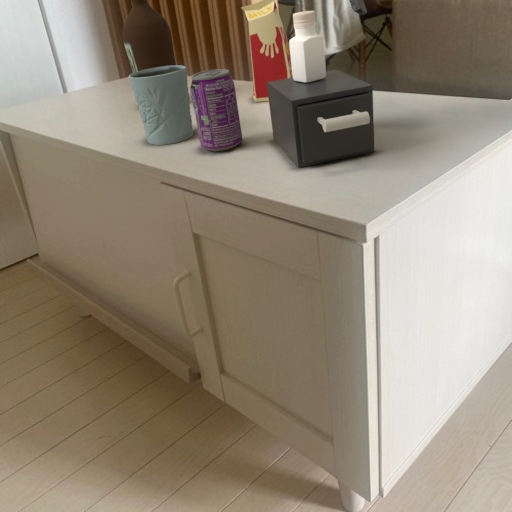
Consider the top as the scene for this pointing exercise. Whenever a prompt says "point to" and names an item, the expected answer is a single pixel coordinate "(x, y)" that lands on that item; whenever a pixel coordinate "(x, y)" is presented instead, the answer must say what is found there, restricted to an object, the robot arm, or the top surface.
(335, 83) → the cabinet
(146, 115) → the embossed ceramic cup
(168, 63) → the olive oil
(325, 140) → the drawer
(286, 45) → the milk carton
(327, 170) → the top surface
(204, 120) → the beverage can
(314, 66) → the pepper shaker
